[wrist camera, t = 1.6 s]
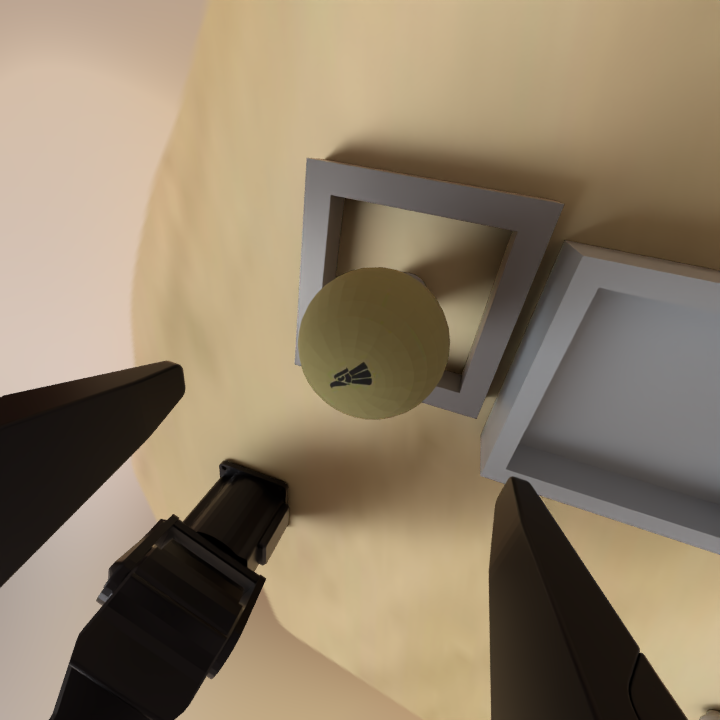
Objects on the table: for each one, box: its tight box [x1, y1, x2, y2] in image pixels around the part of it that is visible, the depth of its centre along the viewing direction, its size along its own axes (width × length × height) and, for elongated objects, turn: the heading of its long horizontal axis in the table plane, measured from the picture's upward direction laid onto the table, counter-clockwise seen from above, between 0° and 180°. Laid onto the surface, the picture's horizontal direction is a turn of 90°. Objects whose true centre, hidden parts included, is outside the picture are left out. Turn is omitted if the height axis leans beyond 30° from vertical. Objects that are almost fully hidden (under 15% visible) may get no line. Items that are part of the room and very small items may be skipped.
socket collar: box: [295, 158, 564, 419], centre depth 18 cm, size 11×11×2 cm
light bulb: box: [298, 267, 450, 420], centre depth 15 cm, size 6×6×10 cm
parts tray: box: [480, 240, 720, 555], centre depth 16 cm, size 14×12×4 cm
